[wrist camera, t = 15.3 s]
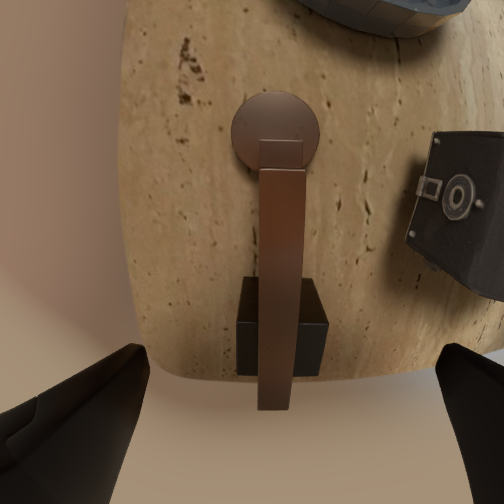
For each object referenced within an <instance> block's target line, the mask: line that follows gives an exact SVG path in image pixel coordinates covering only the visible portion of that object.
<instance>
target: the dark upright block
mask: <svg viewBox="0 0 504 504" xmlns="http://www.w3.org/2000/svg"><path fill="white" fill-rule="evenodd" d="M258 325H259V277H246V276H244V277H243V282H242V289H241V295H240V301H239V308H238V314H237V321H236V373H237V375H242V376H258ZM328 327H329V322H328V319H327V317H326V314H325V311H324V309H323V306H322V303H321V301H320V298H319V295H318V293H317V290H316V288H315V285H314V282H313V280H312V279H308V278H302V280H301V294H300V306H299V318H298V329H297V340H296V350H295V359H294V368H293V377H309V376H318V375H319V371H320V366H321V362H322V357H323V352H324V347H325V342H326V337H327V332H328Z"/></svg>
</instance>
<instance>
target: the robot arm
mask: <svg viewBox="0 0 504 504" xmlns="http://www.w3.org/2000/svg"><path fill="white" fill-rule="evenodd" d="M435 371H436V375H437V378H438V381H439V385H440V388H441V391H442V395H443V399H444V403H445V406H446V409H447V412H448V415H449V418H450V421H451V424H452V427H453V429H454V432H455V435H456V438H457V442H458V445H459V448H460V451H461V455H462V458H463V462H464V465H465V469H466V472H467V476H468V480H469V484H470V488H471V493H472V498H473V503H474V504H504V366H502V365H500V364H498V363H496V362H494V361H492V360H490V359H488V358H486V357H483V356H482V355H480V354H478V353H476V352H474V351H472V350H470V349H468V348H465V347H463V346H461V345H459V344H457V343H450V344H446V345H445V346H444V347H443V349H442V351H441V354H440V356H439V358H438V360H437V363H436V366H435ZM149 375H150V366H149V361H148V357H147V353H146V349H145V347H144V346H143V345H140V344H134V343H130V344H128V345H126V346H125V347H123V348H121V349H119V350H118V351H116V352H114V353H112V354H111V355H109V356H107V357H105V358H104V359H102V360H100V361H99V362H97V363H95V364H93V365H92V366H89V367H88V368H86V369H84V370H83V371H81V372H79V373H77V374H75V375H73V376H72V377H70V378H68V379H66V380H64V381H63V382H61V383H59V384H57V385H56V386H54V387H52V388H50V389H48V390H46V391H45V392H43V393H41V394H39V395H38V397H33V398H32V399H30V400H28V401H26V402H24V403H22V404H20V405H18V406H16V407H15V408H12V409H10V410H8V411H6V412H3V413H1V414H0V504H109V503H110V499H111V496H112V493H113V490H114V487H115V484H116V481H117V478H118V475H119V472H120V469H121V466H122V463H123V460H124V457H125V455H126V452H127V449H128V446H129V443H130V441H131V438H132V435H133V432H134V430H135V427H136V424H137V421H138V418H139V415H140V411H141V407H142V403H143V398H144V395H145V391H146V386H147V382H148V379H149Z"/></svg>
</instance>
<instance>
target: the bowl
mask: <svg viewBox="0 0 504 504" xmlns="http://www.w3.org/2000/svg"><path fill="white" fill-rule="evenodd" d="M297 1H299V2H301V3H303V4H304V5H306V6H308V7H309V8H311V9H312V10H314V11H316V12H317V13H319V14H320V15H322V16H324V17H326V18H329V19H331V20H334V21H336V22H338V23H341V24H343V25H345V26H348V27H350V28H352V29H354V30H359V31H363V32H368V33H372V34H376V35H380V36H384V37H407V38H413V37H416V36H419V35H422V34H424V33H427V32H430V31H432V30H433V29H435V28H437V27H438V26H440V25H441V24H443V23H445V22H446V21H448V20H450V19H451V18H453V17H455V16H456V15H458V14H460V13H462V12H463V11H464V10H465V8H466V7H467V6H468V4H469V3H470V1H471V0H297Z"/></svg>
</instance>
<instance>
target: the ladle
mask: <svg viewBox="0 0 504 504" xmlns="http://www.w3.org/2000/svg"><path fill="white" fill-rule="evenodd" d="M319 136H320V132H319V125H318V121H317V119H316V116H315V115H314V113H313V111H312V110H311V108H310V107H309V106H308V105H307V104H306V103H305V102H304V101H303V100H301V99H300V98H298V97H296V96H294V95H292V94H289V93H286V92H281V91H268V92H263V93H259V94H257V95H255V96H253V97H251V98H249V99H248V100H247V101H245V102H244V103H243V104H242V105H241V106H240V108H239V109H238V110H237V112H236V114H235V116H234V118H233V121H232V126H231V139H232V144H233V147H234V149H235V151H236V153H237V155H238V156H239V158H240V159H241V160H242V161H243V162H244V163H245V164H246V165H247V166H248V167H250V168H251V169H253V170H255V171H257V172H259V325H258V407H257V408H258V410H288V409H289V401H290V393H291V386H292V377H293V368H294V359H295V350H296V340H297V329H298V318H299V306H300V294H301V280H302V265H303V247H304V227H305V200H306V170H305V169H302V168H303V167H304V166H305V165H306V164H307V163H308V162H309V161H310V160H311V158H312V157H313V156H314V154H315V152H316V150H317V147H318V143H319Z"/></svg>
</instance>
